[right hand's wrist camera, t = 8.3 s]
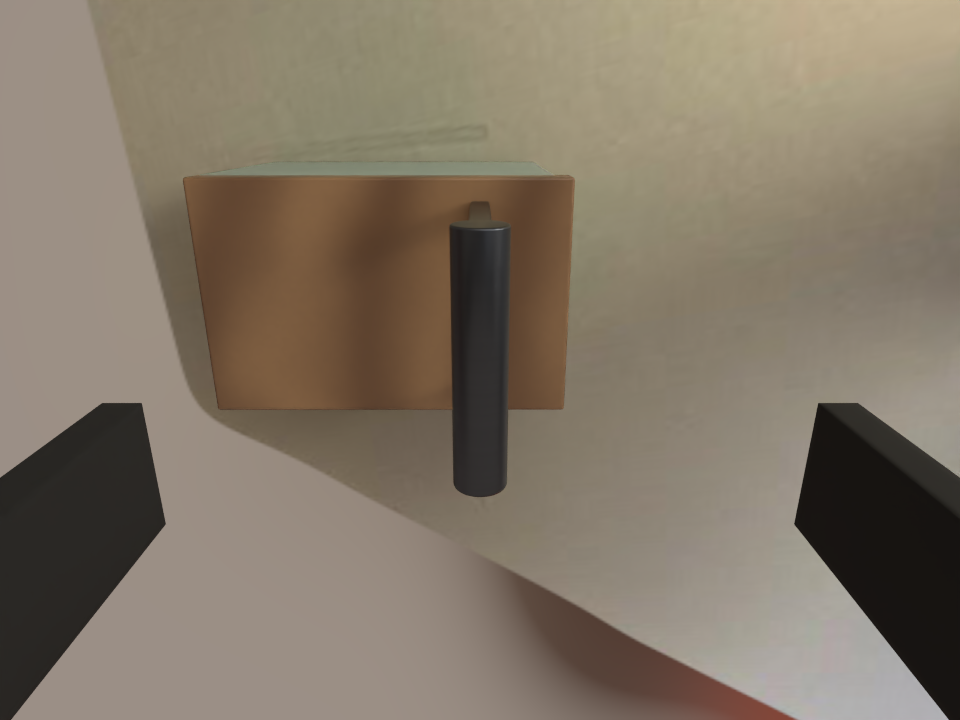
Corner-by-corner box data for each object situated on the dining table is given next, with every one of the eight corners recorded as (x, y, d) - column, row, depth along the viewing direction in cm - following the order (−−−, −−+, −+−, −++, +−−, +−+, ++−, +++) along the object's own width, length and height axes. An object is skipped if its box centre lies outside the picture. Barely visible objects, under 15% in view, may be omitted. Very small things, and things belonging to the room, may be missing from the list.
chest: (534, 161, 33) (555, 174, 24) (529, 329, 36) (546, 397, 27) (274, 161, 33) (196, 175, 24) (291, 329, 36) (229, 397, 27)
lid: (570, 174, 24) (619, 200, 16) (560, 397, 27) (596, 517, 19) (196, 174, 24) (45, 200, 16) (228, 398, 27) (118, 517, 19)
